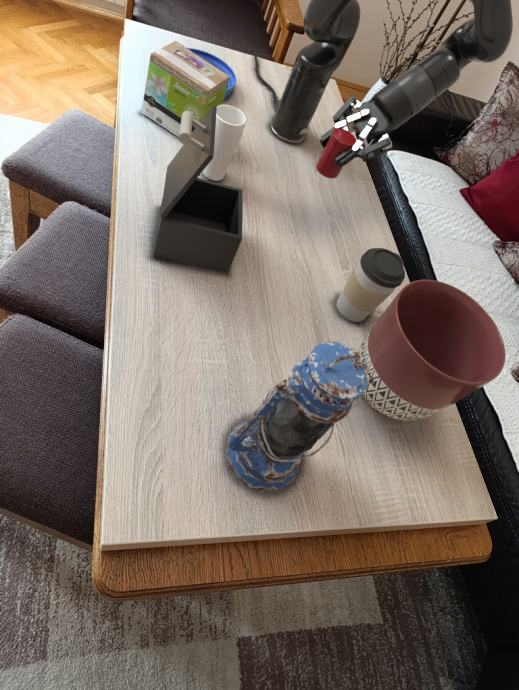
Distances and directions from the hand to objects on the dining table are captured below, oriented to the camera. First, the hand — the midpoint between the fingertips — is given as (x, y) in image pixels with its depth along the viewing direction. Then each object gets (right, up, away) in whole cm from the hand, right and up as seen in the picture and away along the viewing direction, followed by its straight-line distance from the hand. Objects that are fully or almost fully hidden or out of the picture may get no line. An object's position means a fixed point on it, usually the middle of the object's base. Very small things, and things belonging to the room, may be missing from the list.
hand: (328, 153), depth 98 cm
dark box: (-27, -17, +2) cm, 32 cm away
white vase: (-24, +1, +15) cm, 29 cm away
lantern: (-13, -55, -18) cm, 59 cm away
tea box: (-33, +15, +21) cm, 42 cm away
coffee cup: (+5, -30, +6) cm, 31 cm away
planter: (+9, -46, -3) cm, 47 cm away
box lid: (-25, -7, -13) cm, 29 cm away
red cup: (0, -2, +4) cm, 5 cm away
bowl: (-29, +32, +34) cm, 55 cm away
